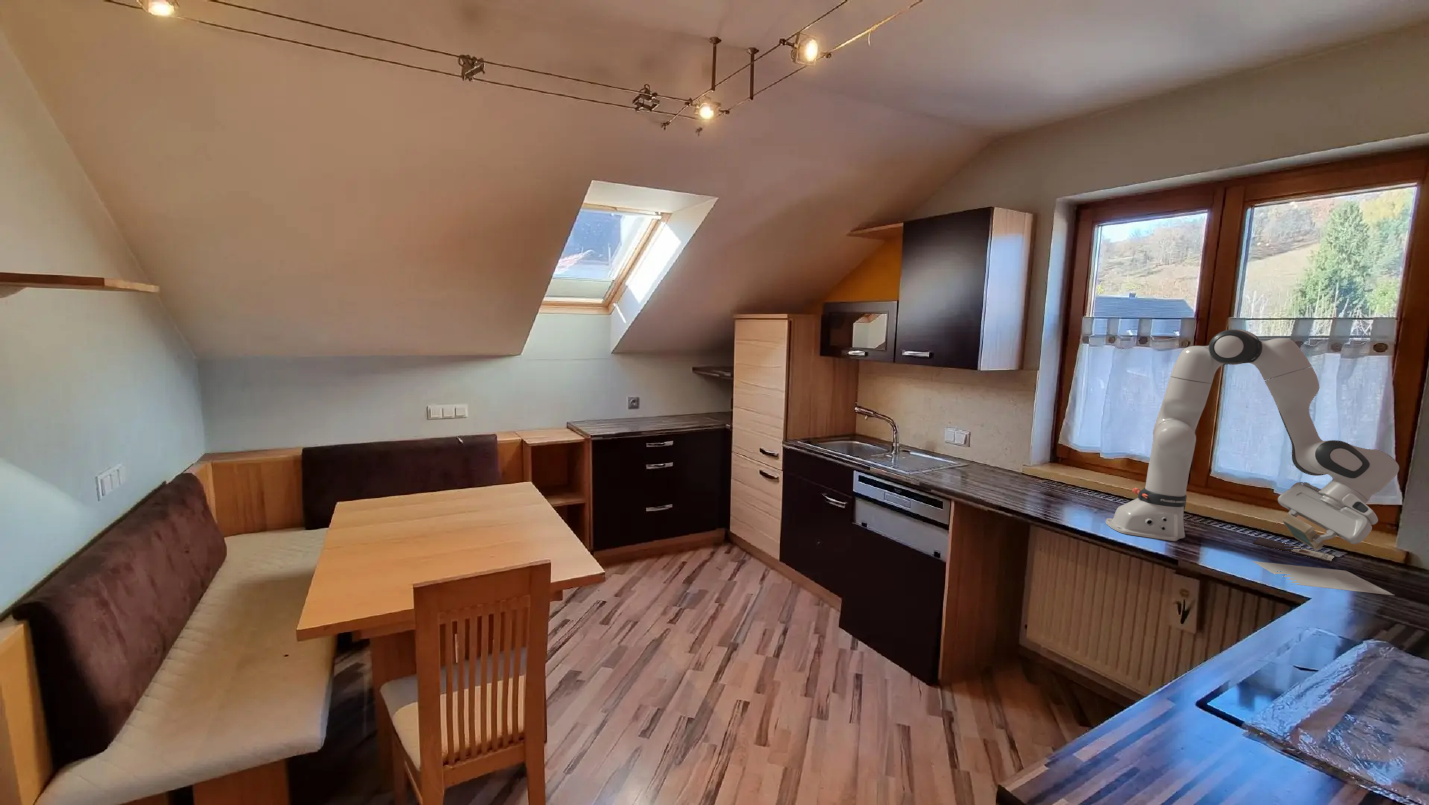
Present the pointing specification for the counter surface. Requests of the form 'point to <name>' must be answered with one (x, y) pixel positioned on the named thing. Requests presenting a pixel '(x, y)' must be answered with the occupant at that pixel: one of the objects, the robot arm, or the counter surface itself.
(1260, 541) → the chocolate bar
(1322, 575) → the mat
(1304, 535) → the birch box
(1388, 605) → the counter surface
